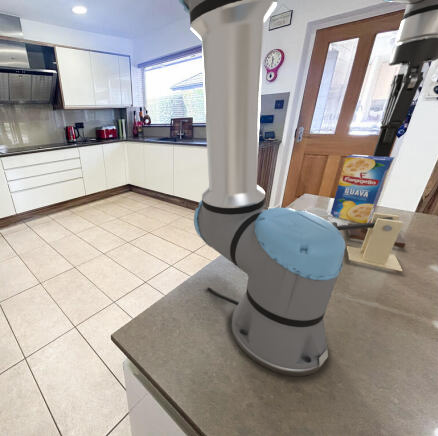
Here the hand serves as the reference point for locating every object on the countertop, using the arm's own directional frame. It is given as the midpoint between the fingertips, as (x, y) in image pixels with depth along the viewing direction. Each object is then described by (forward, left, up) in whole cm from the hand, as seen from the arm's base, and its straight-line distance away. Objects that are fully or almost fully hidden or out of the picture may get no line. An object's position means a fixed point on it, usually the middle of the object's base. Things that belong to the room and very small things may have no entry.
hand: (380, 156), depth 58 cm
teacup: (-9, +14, -27) cm, 31 cm away
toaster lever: (0, -6, -18) cm, 19 cm away
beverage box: (+2, +26, -27) cm, 37 cm away
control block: (+6, +9, -26) cm, 29 cm away
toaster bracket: (+4, -6, -26) cm, 27 cm away
